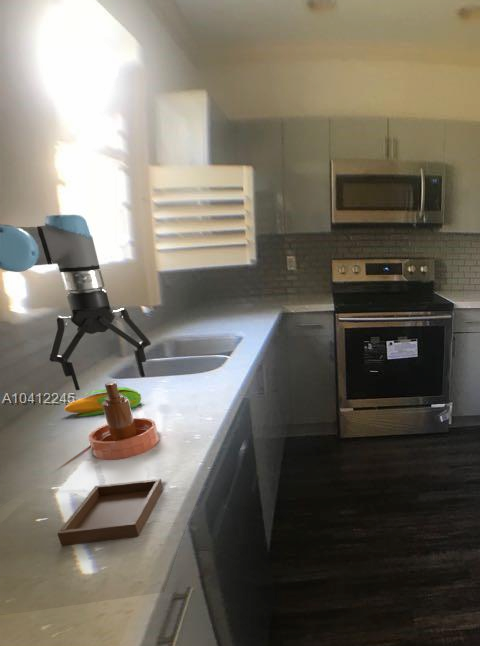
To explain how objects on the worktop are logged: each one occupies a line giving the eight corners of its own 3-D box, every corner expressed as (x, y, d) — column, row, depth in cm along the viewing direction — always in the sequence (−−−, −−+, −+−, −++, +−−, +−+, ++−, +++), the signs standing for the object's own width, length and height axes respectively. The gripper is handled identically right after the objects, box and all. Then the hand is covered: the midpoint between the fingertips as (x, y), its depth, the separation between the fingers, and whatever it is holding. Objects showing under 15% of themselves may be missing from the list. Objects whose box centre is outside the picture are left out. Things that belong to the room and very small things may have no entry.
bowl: (80, 461, 108) (74, 442, 106) (117, 435, 121) (112, 418, 120) (139, 461, 107) (134, 442, 105) (169, 435, 120) (165, 417, 119)
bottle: (109, 450, 112) (91, 387, 106) (122, 440, 117) (106, 379, 111) (131, 450, 111) (114, 387, 105) (144, 440, 116) (128, 379, 110)
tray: (98, 496, 93) (95, 485, 92) (163, 489, 95) (160, 478, 94) (61, 546, 79) (57, 533, 78) (138, 536, 81) (135, 524, 80)
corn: (137, 387, 134) (56, 399, 127) (142, 411, 136) (64, 424, 129) (138, 381, 141) (62, 392, 133) (144, 405, 143) (69, 417, 135)
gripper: (15, 299, 91) (48, 399, 98) (150, 285, 104) (170, 374, 112) (15, 296, 96) (47, 390, 104) (144, 283, 110) (163, 367, 118)
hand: (111, 382), depth 108 cm, fingers open, 13 cm apart
